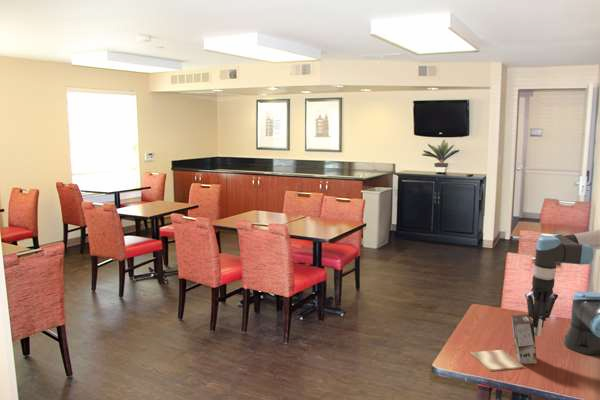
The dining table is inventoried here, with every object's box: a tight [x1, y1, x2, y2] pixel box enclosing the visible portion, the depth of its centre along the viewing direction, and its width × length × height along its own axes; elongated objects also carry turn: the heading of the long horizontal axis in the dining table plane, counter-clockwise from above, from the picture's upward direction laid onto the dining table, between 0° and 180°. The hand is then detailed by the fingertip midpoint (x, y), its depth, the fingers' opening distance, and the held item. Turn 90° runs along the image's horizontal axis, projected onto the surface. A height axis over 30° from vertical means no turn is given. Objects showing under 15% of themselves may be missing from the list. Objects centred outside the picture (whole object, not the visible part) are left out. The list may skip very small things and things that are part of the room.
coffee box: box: [511, 314, 538, 365], centre depth 194 cm, size 9×6×16 cm
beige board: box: [470, 349, 525, 372], centre depth 194 cm, size 14×14×1 cm
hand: (536, 334), depth 195 cm, fingers closed
